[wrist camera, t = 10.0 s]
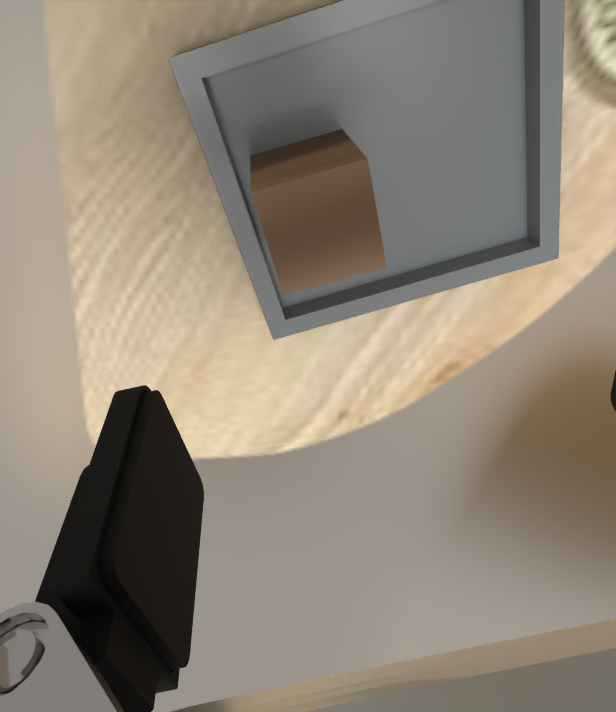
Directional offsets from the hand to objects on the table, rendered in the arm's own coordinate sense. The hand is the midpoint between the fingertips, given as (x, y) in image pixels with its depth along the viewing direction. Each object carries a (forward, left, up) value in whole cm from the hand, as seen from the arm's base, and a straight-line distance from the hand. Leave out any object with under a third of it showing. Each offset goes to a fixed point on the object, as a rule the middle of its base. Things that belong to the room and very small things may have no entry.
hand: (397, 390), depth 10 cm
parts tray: (+1, +4, -18) cm, 18 cm away
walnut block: (+1, 0, -17) cm, 17 cm away
